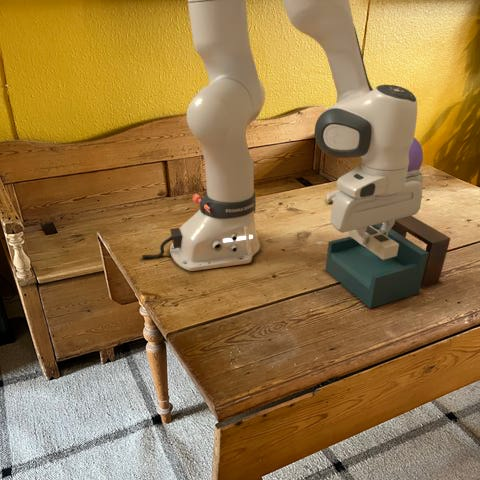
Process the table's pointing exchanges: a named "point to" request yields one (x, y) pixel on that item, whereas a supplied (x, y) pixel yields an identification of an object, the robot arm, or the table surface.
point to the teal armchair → (377, 269)
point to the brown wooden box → (435, 246)
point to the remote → (378, 243)
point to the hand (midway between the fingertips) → (372, 240)
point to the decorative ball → (415, 156)
